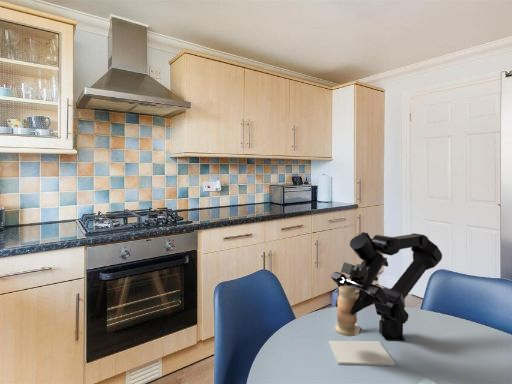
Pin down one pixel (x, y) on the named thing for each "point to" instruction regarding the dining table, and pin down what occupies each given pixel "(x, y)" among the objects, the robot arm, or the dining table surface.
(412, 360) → the dining table surface
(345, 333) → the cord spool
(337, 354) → the mat
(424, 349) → the dining table surface
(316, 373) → the dining table surface
